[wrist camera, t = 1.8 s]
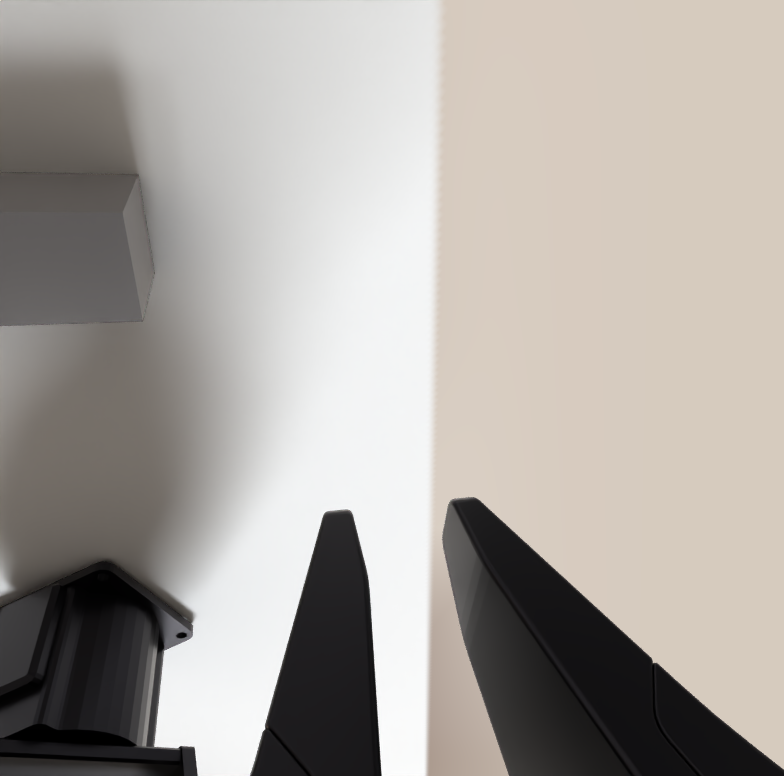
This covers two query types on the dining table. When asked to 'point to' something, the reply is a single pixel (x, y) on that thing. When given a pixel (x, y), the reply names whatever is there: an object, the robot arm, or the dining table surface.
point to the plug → (73, 249)
